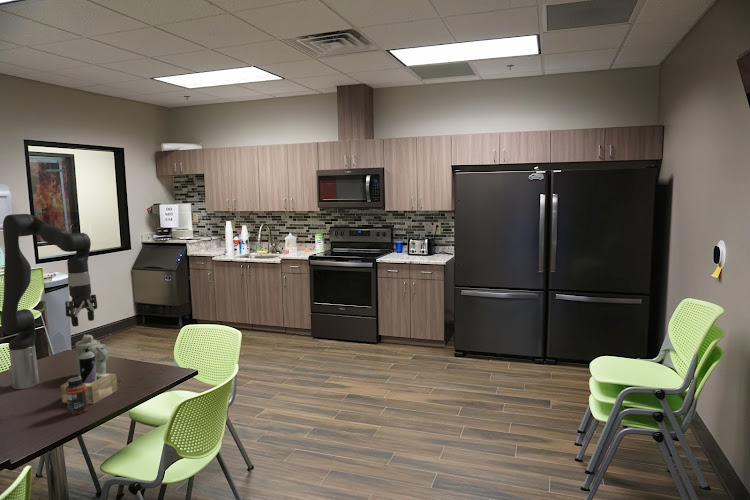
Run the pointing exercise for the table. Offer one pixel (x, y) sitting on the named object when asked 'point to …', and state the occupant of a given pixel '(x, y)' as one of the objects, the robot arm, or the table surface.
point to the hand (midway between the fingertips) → (83, 323)
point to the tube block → (96, 388)
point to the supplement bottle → (76, 396)
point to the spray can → (87, 366)
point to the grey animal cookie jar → (95, 347)
